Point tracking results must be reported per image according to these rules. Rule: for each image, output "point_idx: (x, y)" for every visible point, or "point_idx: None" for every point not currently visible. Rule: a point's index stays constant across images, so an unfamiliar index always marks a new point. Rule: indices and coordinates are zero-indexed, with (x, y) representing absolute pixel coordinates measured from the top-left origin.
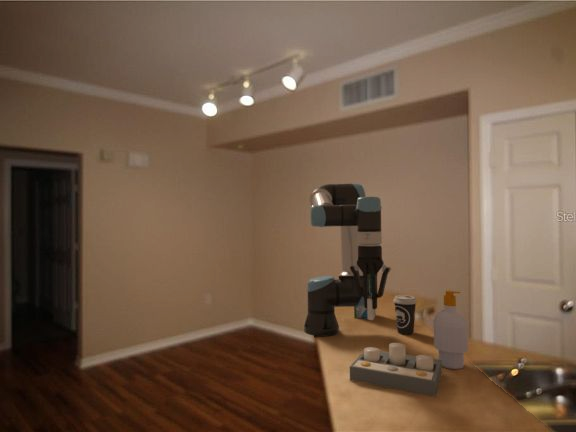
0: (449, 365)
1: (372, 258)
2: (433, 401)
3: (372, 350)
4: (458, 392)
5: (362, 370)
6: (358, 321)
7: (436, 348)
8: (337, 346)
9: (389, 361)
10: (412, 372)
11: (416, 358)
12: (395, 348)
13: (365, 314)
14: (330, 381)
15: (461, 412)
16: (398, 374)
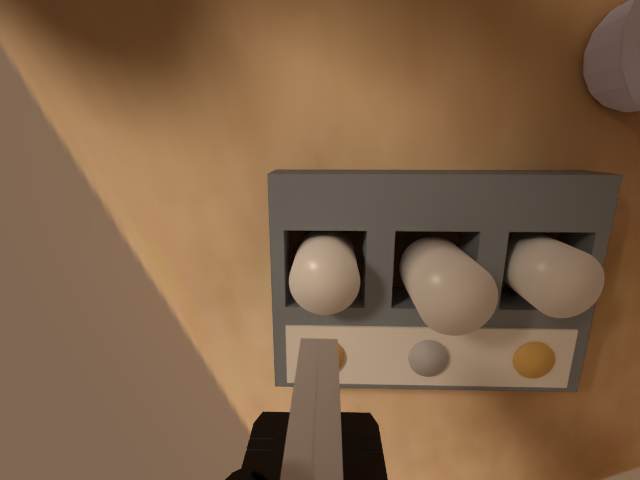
0: (631, 111)
1: None
2: None
3: (329, 287)
4: (620, 308)
5: None
6: None
7: (629, 92)
8: (85, 39)
9: (402, 280)
10: (501, 357)
11: (529, 297)
12: (452, 333)
13: None
14: (231, 388)
15: (609, 418)
16: (453, 385)
